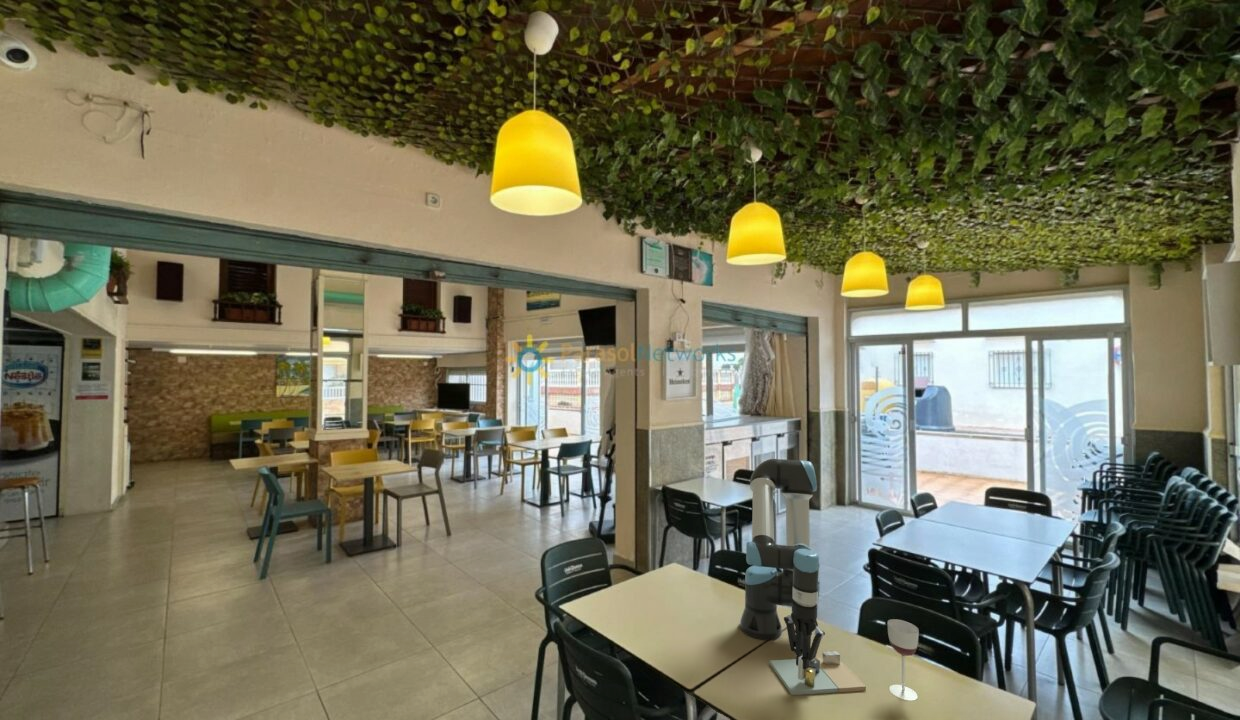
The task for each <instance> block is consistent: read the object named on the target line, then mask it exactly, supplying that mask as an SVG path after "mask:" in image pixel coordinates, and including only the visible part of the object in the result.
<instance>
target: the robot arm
mask: <svg viewBox="0 0 1240 720" xmlns="http://www.w3.org/2000/svg"><path fill="white" fill-rule="evenodd" d="M749 481H750V482H749V487H750V490H751V491H752V516H751V517H752V523H751V525H752V526H751V527H752V528H751V529H752V532H751V534H752V535H751V536H752V537H751V541H747V542H746V545H745V546H746V550H745V553H746V554H745V555H746V556H745V559H746V563H747V564H748V565H750V566H749V567H748V568H747V569H746V571H745V577H744V578H745V579H744V583H745V588H744V590H745V591H744V593H745V594H744V595H745V596H744V602H745V603H744V609H743V613H742V614H741V617H740V630H741V631H742V632H743V633H744V634H745V635H747V636H749V637H751V638H753V639H758V640H763V641H764V640H766V641H771V640H775V639H778V638H780V637H781V636H782V629H783V628H782V624H781V620H780V617H779V614H778V611H777V607H778V606H783V607H790V608H791V613H790V614H789V615H787V616H785V617H783V621H784V622H785V625H786V626H785V627H786V631H787V637H788V643H789V648H790V651H791V652H793V653H795V656H796V657H795V659H796V665H797V666H798V679H800V680H803V679H804V678H805V670H807V669H808V668H809V660H810V661H811V660H812V659H814V658H817V654H818V650H819V647H820V644H821V641H822V638H823V637H824V636H825V635H826V633H825V631H824V630H821V629H820V628H819V626H818V625H819V624H818V621H817V618H818V604H819V603H818V602H819V599H820V589H821V587H820V586H821V584H820V583H821V581H820V580H821V579H820V576H819V575H820V571H819V570H820V569H819V568H820V557H819V554H818V553H817V552H815V551H814V550H812V549H811V534H810V533H811V532H810V530H811V529H810V528H811V527H810V499H811V498H812V497H813V496H814V492H817V489H818V485H817V482H818V481H817V475H816V472H815V467H814V464H813V463H812V462H811V461H809V460H800V459H780V458H779V459H778V458H770V459H766V460H764V461H763V462H760V463H759V465H757V466H756V467H755V469H754V471H753V472H752V473H751V476H750V480H749ZM776 489H778V490H781V494H782V496H783V497H784V498H785V523H786V524H785V533H786V536H785V537H786V540H785V541H786V544H785V545H784V544H776V543H775V517H774V515H775V514H774V492H775V491H776ZM777 569H780V570H781V569H782V571H778V570H777ZM813 632H814V636H813V639H812V635H813Z"/></svg>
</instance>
